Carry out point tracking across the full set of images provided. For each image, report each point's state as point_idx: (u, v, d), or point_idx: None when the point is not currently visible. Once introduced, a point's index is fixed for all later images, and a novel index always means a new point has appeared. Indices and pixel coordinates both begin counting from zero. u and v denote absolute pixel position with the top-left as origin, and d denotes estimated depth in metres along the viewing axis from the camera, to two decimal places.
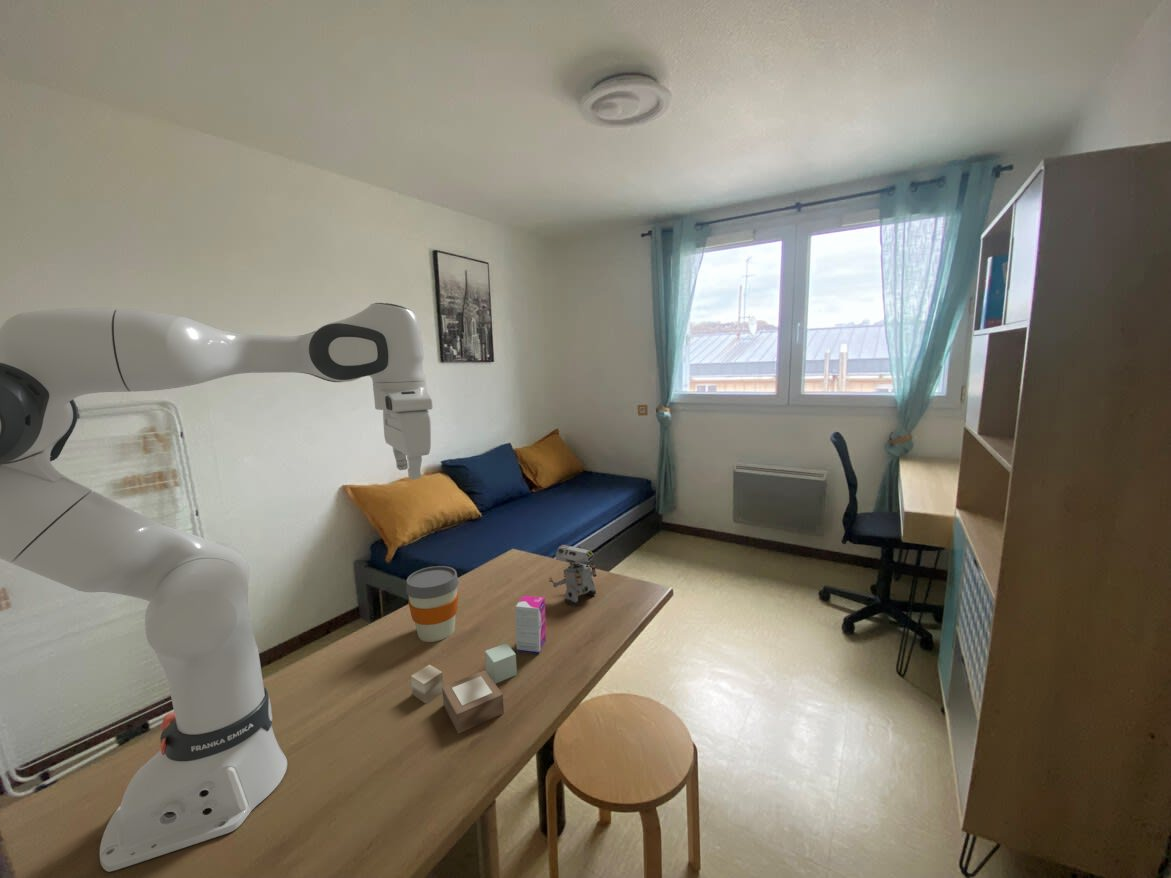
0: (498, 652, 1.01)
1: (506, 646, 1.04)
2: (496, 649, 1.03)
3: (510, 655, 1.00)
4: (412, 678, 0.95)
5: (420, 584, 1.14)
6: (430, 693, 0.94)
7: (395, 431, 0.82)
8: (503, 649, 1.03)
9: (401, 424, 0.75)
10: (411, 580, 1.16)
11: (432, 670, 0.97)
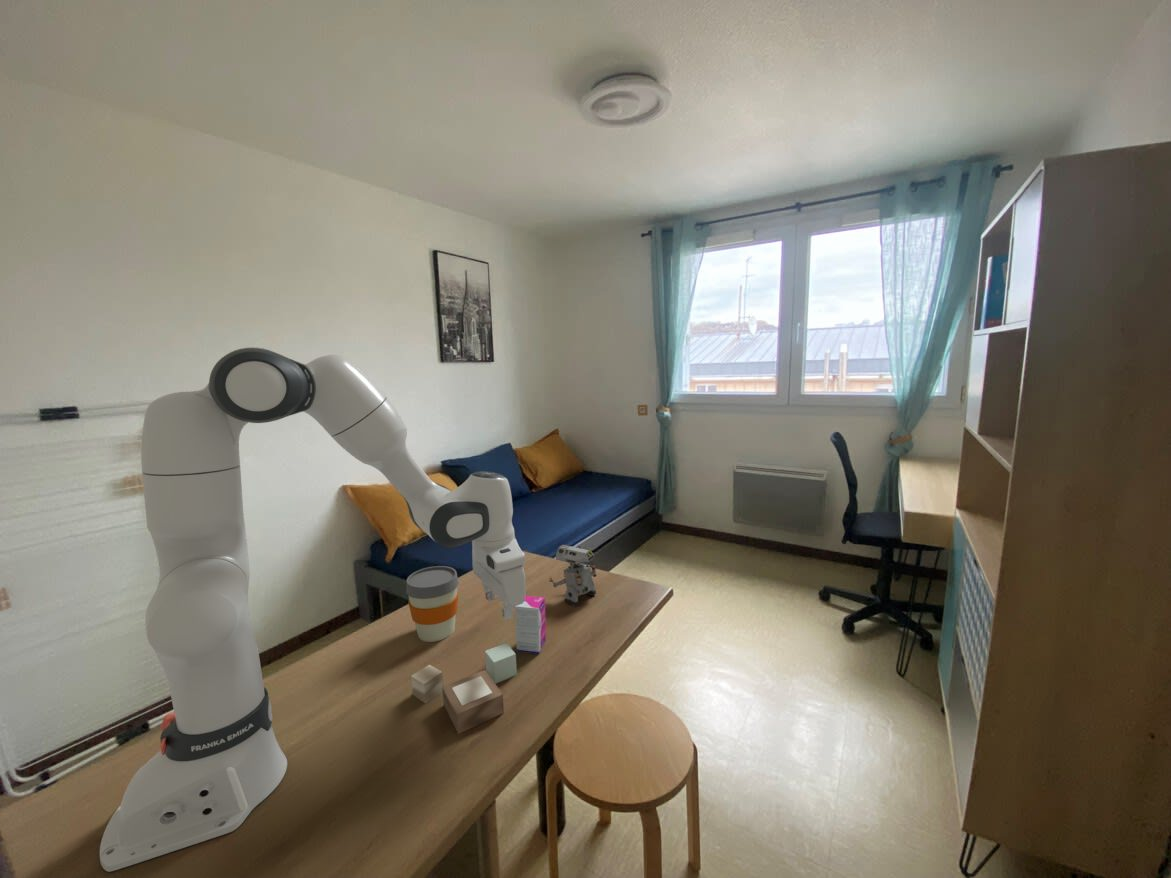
0: (498, 652, 1.01)
1: (506, 646, 1.04)
2: (496, 649, 1.03)
3: (510, 655, 1.00)
4: (412, 678, 0.95)
5: (420, 584, 1.14)
6: (430, 693, 0.94)
7: (490, 577, 0.97)
8: (503, 649, 1.03)
9: (503, 582, 0.90)
10: (411, 580, 1.16)
11: (432, 670, 0.97)
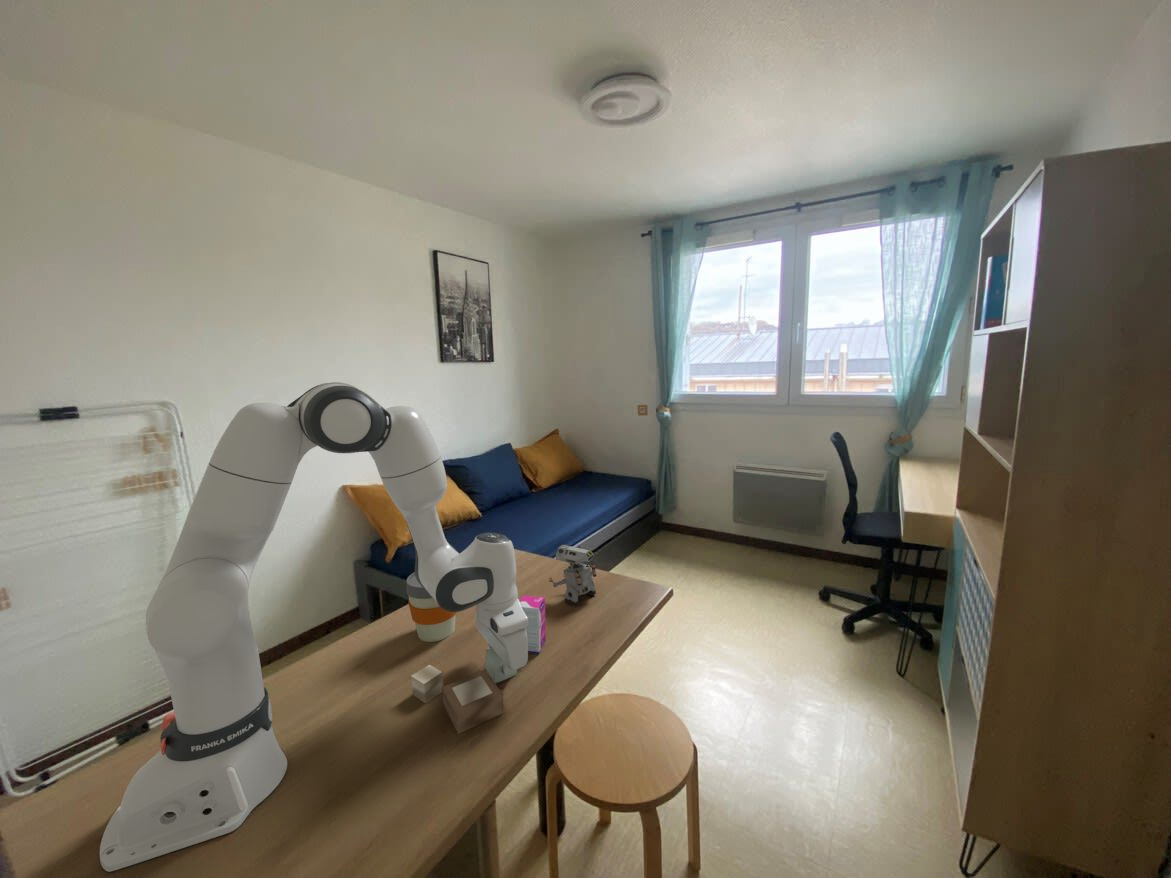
0: None
1: None
2: None
3: None
4: (412, 678, 0.95)
5: None
6: (430, 693, 0.94)
7: (493, 637, 0.99)
8: None
9: (506, 647, 0.92)
10: (411, 580, 1.16)
11: (432, 670, 0.97)
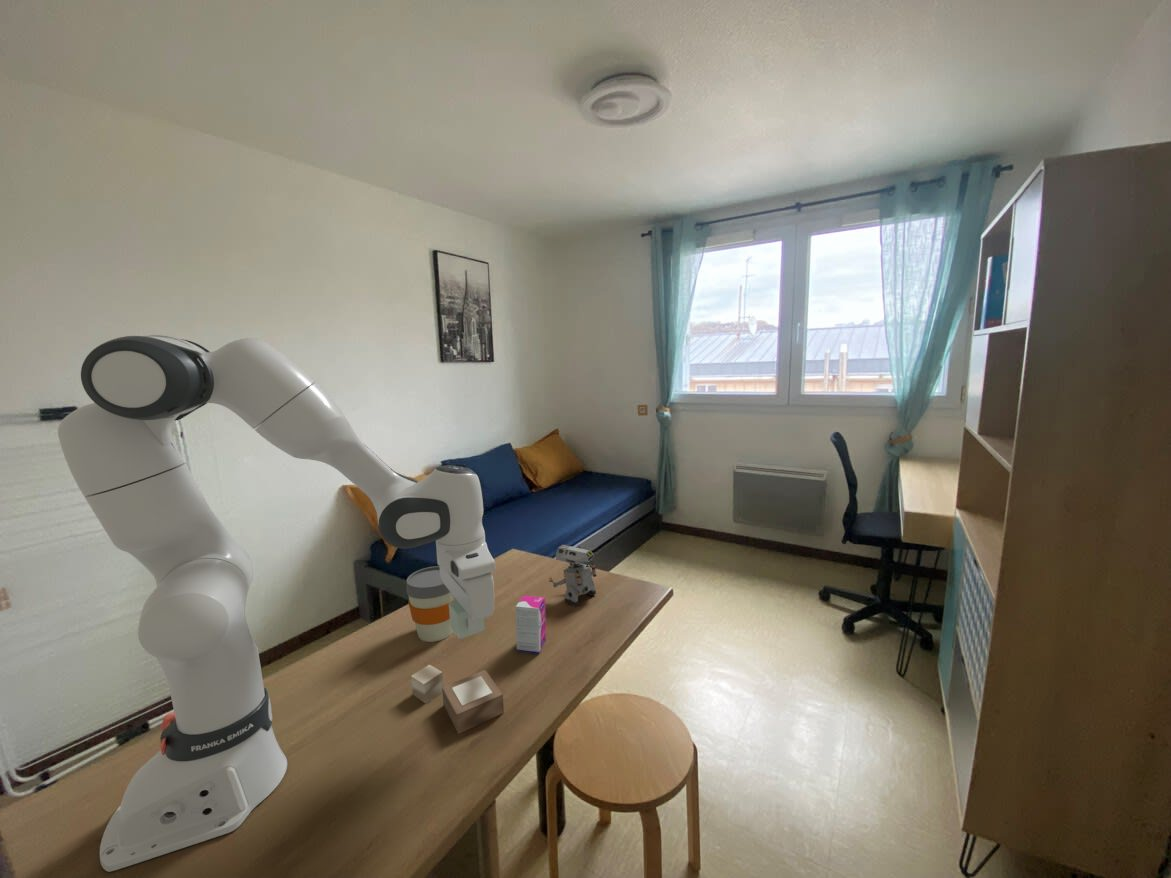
0: None
1: None
2: None
3: None
4: (412, 678, 0.95)
5: (420, 584, 1.14)
6: (430, 693, 0.94)
7: (456, 585, 0.85)
8: None
9: (468, 592, 0.78)
10: (411, 580, 1.16)
11: (432, 670, 0.97)
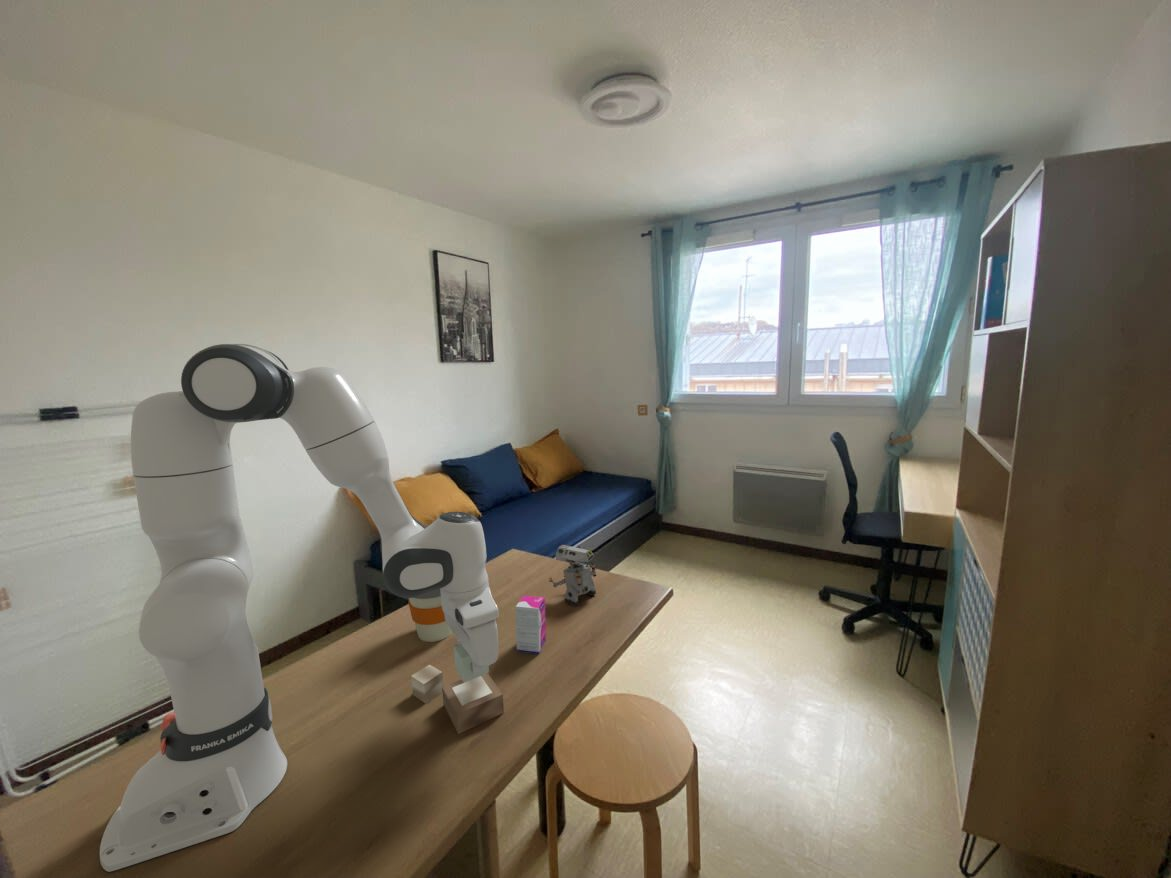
0: None
1: None
2: None
3: None
4: (412, 678, 0.95)
5: None
6: (430, 693, 0.94)
7: (461, 630, 0.87)
8: None
9: (472, 641, 0.80)
10: None
11: (432, 670, 0.97)
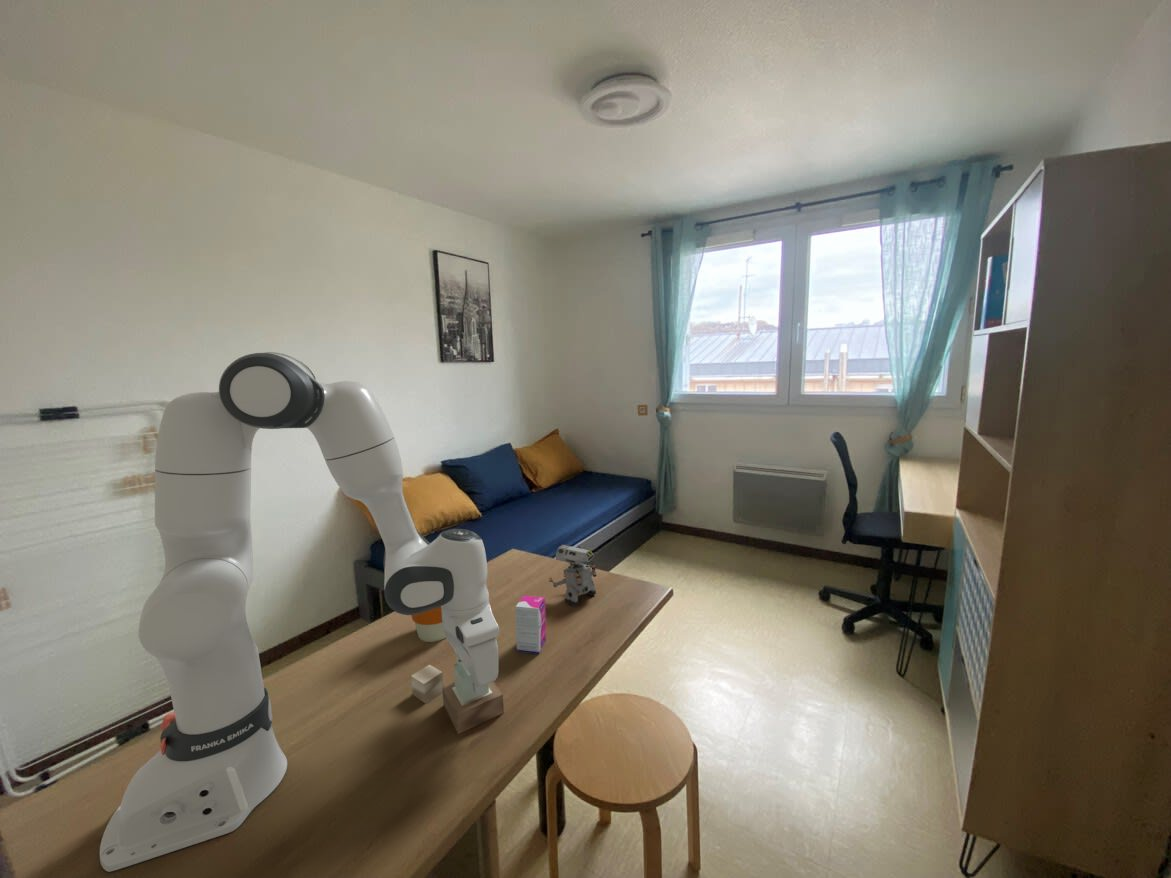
0: None
1: None
2: None
3: None
4: (412, 678, 0.95)
5: None
6: (430, 693, 0.94)
7: (461, 647, 0.87)
8: None
9: (472, 659, 0.80)
10: None
11: (432, 670, 0.97)
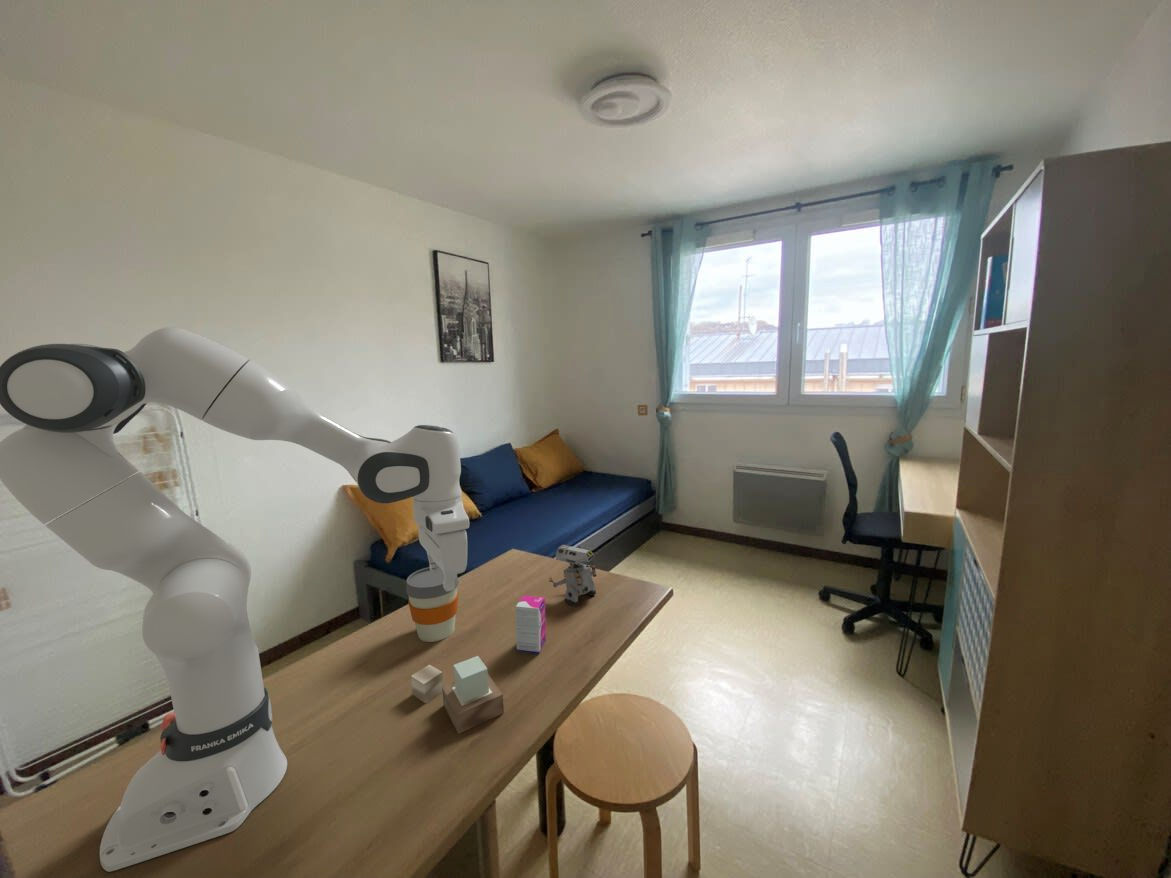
0: (468, 667, 0.90)
1: (477, 659, 0.92)
2: (466, 663, 0.91)
3: (480, 670, 0.89)
4: (412, 678, 0.95)
5: (420, 584, 1.14)
6: (430, 693, 0.94)
7: (432, 543, 0.87)
8: (474, 663, 0.91)
9: (440, 546, 0.80)
10: (411, 580, 1.16)
11: (432, 670, 0.97)
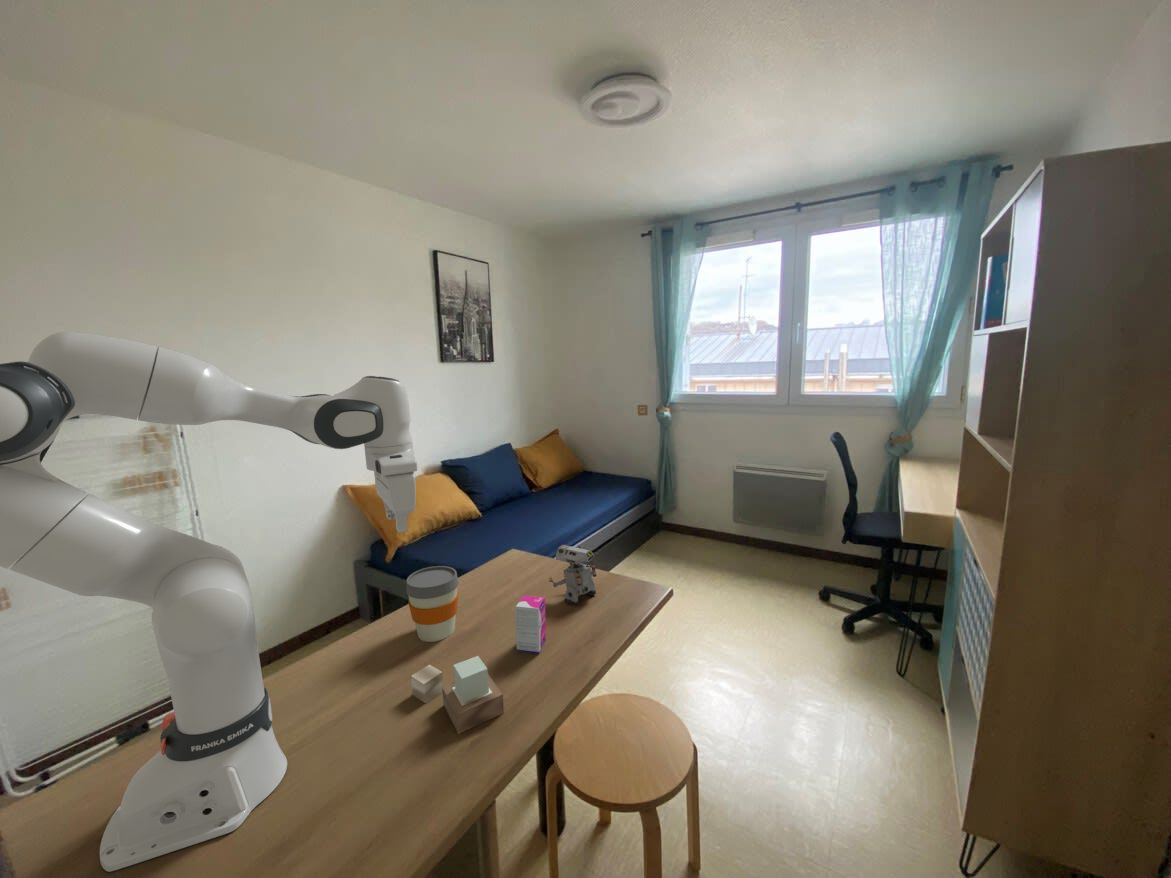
0: (468, 667, 0.90)
1: (477, 659, 0.92)
2: (466, 663, 0.91)
3: (480, 670, 0.89)
4: (412, 678, 0.95)
5: (420, 584, 1.14)
6: (430, 693, 0.94)
7: (384, 488, 0.92)
8: (474, 663, 0.91)
9: (389, 487, 0.85)
10: (411, 580, 1.16)
11: (432, 670, 0.97)
